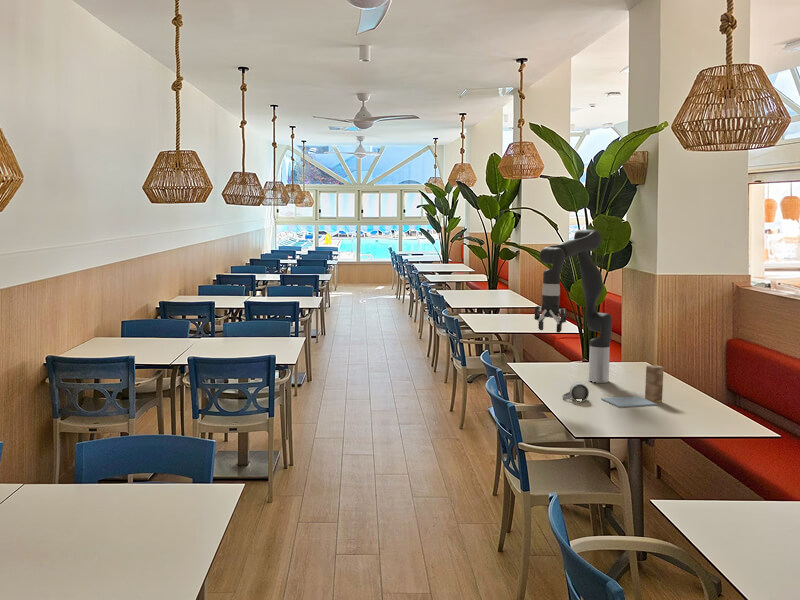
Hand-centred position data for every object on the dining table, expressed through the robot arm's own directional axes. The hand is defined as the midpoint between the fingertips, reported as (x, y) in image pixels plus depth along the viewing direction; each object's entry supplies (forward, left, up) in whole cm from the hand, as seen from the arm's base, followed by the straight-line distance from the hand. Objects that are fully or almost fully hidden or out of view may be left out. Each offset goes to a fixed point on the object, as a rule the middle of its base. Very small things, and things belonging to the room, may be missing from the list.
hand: (549, 331), depth 312 cm
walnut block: (-28, +35, -29) cm, 53 cm away
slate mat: (-17, +29, -29) cm, 45 cm away
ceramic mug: (-5, +11, -29) cm, 32 cm away
